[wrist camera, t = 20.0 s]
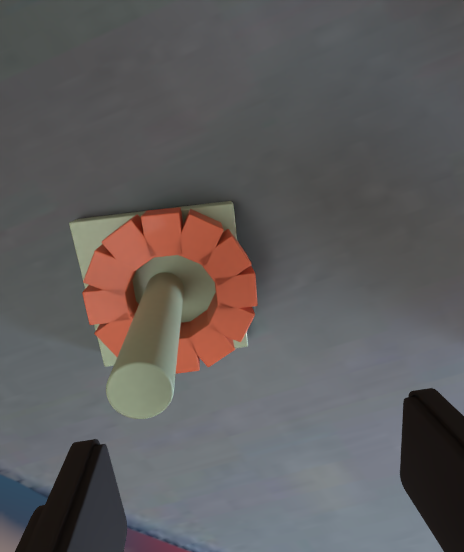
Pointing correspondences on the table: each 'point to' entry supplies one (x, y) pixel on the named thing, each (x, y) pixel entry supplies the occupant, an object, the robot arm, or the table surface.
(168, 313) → the post
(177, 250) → the ring
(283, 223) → the table surface
